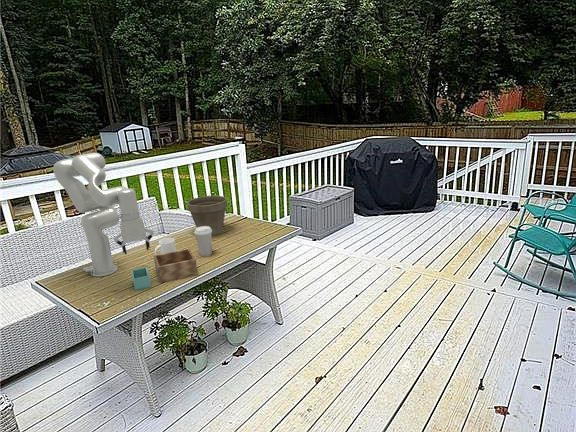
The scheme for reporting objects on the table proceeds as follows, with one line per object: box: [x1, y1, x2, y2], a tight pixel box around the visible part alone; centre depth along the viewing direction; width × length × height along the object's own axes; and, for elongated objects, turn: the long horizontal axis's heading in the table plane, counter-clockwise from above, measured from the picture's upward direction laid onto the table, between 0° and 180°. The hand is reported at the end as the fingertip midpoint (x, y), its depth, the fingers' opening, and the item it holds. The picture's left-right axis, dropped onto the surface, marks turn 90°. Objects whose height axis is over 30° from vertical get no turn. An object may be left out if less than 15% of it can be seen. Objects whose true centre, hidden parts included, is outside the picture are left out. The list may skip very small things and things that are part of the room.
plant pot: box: [186, 195, 228, 237], centre depth 250 cm, size 25×25×22 cm
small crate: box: [131, 266, 152, 292], centre depth 187 cm, size 7×11×6 cm, turn 25°
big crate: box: [153, 248, 198, 284], centre depth 198 cm, size 18×16×8 cm
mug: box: [154, 237, 177, 256], centre depth 214 cm, size 12×8×10 cm
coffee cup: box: [194, 226, 213, 257], centre depth 218 cm, size 10×10×15 cm
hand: (136, 251), depth 183 cm, fingers open, 9 cm apart
